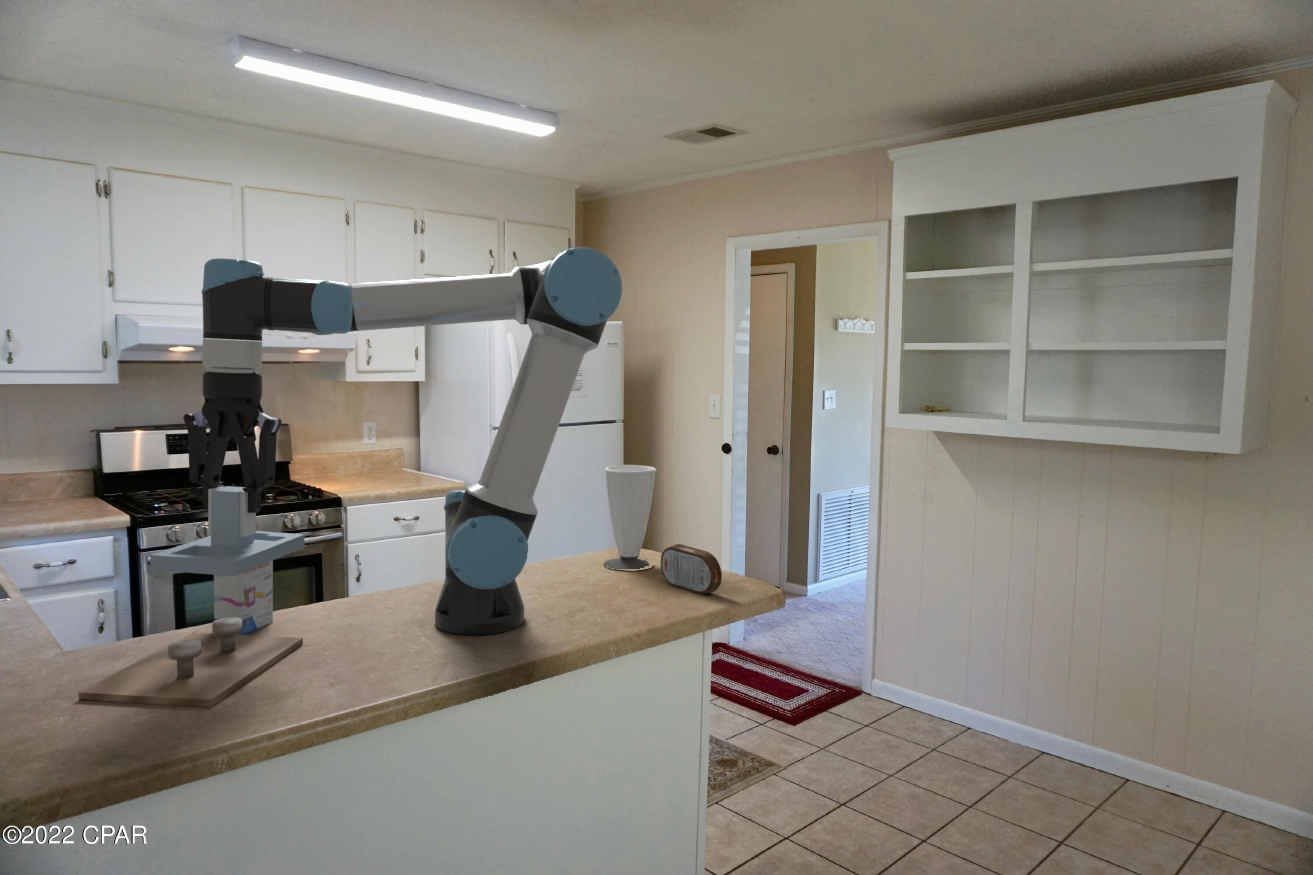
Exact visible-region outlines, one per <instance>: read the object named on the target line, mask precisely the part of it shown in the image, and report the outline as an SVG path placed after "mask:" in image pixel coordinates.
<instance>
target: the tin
mask: <svg viewBox="0 0 1313 875" xmlns="http://www.w3.org/2000/svg"><path fill="white" fill-rule="evenodd" d="M660 569H661V573H662V575H663V578H664V579H665V580H666V582H668V584H670V585H672V586H673V585H674V586H673V587H676V588H679V587H680V589H682V588H683V590H686V591H690V592H692V593H695V594H699V595H706V594H710V593H713V592H716V591H717V590H718V589H719V588H720V586H721V584H722V580H723V578H722V577H723V575H722V568H721V566H720V563H719V561H718V559H717V558H716V557H715V555H714V554H712V553H711V552H709V551H708V550H703V549H699V548H695V547H693V546H690V545H685V544H682V543H679V544H678V543H677V544H674V545H671V546H669V547H666V548H665V549H664V550H663V551H662V553H661V556H660Z"/></svg>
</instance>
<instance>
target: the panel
mask: <svg viewBox="0 0 1313 875" xmlns="http://www.w3.org/2000/svg"><path fill="white" fill-rule="evenodd" d="M222 487H223V488H219V489H215V490H211V534H210V535H209V536H204V537H202V538H199V539H196V540H193V541H190V542H187V543H183V544H181V545H177V546H175V547H172V548H171V547H170V548H168V549H165V550H161V551H159V552H155V553H152V554H150V556H149V559H150V567H149V568H150V571H161V572H162V571H164V572H177V573H189V574H198V575H199V574H200V575H201V574H204V575H212V576H214V575H225V576H237V575H239V574H241V573H244V572H246V571H249V570H251V569H253V568H256V567H258V566H261V565H263V564H265V563H268V562H270V561H275V560H277V559H279V558H282V557H284V556H286V555H290V554H291V553H294V552H296V551H299V550H301V549H303V548H305V542H306V541H305V534H302V533H290V532H289V533H287V532H278V531H276V532H274V531H264V530H263V531H262V530H256V533H255V534H252V535H249V536H246V537H240V491H243V489H242V488H245V486H244V487H243V486H230V485H229V486H228V485H227V486H222Z"/></svg>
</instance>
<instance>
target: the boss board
mask: <svg viewBox="0 0 1313 875" xmlns="http://www.w3.org/2000/svg"><path fill="white" fill-rule="evenodd" d="M241 631H242V619H241V618H236V617H229V618H222V619H218V620H215V621H212V623H211V632H195V631H194V632H191V633H190V634H188V635H186V636H183V637H181V638H180V639H178V640H176V641H174V642H172V643H171V642H170V643H169V644H168V645H167V646H164V647H162V648H161V649H159V650H157V651H155V652H152V653H151V654H149V655H147V656H145V657H143V658H142V659H140V660H138V661H136V662H134V663H132V664H130V665H128V666H126V667H125V668H122V669H121V670H118V671H117V672H115V673H113V674H111V675H109V676H107V677H105V678H103V679H102V680H100V681H97V682H96V683H94V684H92V685H89V686H87V687H86V688H85V689H82V690H80V691H79V692H78V700H79V699H87V700H86V701H91V700H104V701H103V702H109V701H113V702H112V703H114V701H116V702H115V703H127V704H129V703H131V704H146V705H147V704H149V705H162V706H163V705H164V706H165V705H166V706H181V707H199V708H200V707H201V708H212V707H214V706H215V705H216V704H218V703H219V702H221V701H222V700H224V699H225V698H226V697H228V696H229V695H231V694H232V693H234V692H236V691H237V690H238V689H240V688H241V687H242V686H244V685H245V684H247V683H249V682H250V681H251V680H253V679H254V678H256V677H257V676H259V675H261V673H263V672H264V671H267V669H269V668H270V667H272V666H273V665H275V664H276V663H278V662H279V661H280V660H282V659H283V658H285V657H286V656H288V655H289V654H290V653H291V654H292V653H293V651H295V650H296V649H298V648H300V647H301V646H302V645H304V641H303V640H304V638H303V637H293V636H275V635H274V636H269V635H254V634H253V635H252V634H251V635H250V634H245V635H235V634H237V633H239V632H241ZM106 700H107V701H106Z"/></svg>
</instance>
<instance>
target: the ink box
mask: <svg viewBox="0 0 1313 875" xmlns="http://www.w3.org/2000/svg"><path fill="white" fill-rule="evenodd" d="M273 561H274V560H273ZM273 561H270V562H268V563H265V564H263V565H261V566H258V567H256V568H253V569H251V570H249V571H246V572H244V573H241V574H239V575H237V576H225V575H213V588H214V589H213V600H214V601H213V602H214V603H213V609H214V610H213V611H214V612H213V613H214V615H213V616H214V617H213V618H214V619H213V620H214V621H215V620H218V619H222V618H229V617H236V618H241V619H242V631H241V632H239V633H237V634H235V635H248V634H249V633H251V632H253V631H255V630H258V629H260V628H261V627H264V626H266V625H269V624H271V623H273V621H274V614H273V613H274V612H273V611H274V609H273V608H274V606H273V605H274V604H273V603H274V602H273V601H274V600H273V598H274V597H273V596H274V592H273V591H274V590H273V586H274V585H273V584H274V583H273V582H274V580H273V579H274V577H273V575H274V573H273V572H274V568H273V567H274V562H273Z"/></svg>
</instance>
